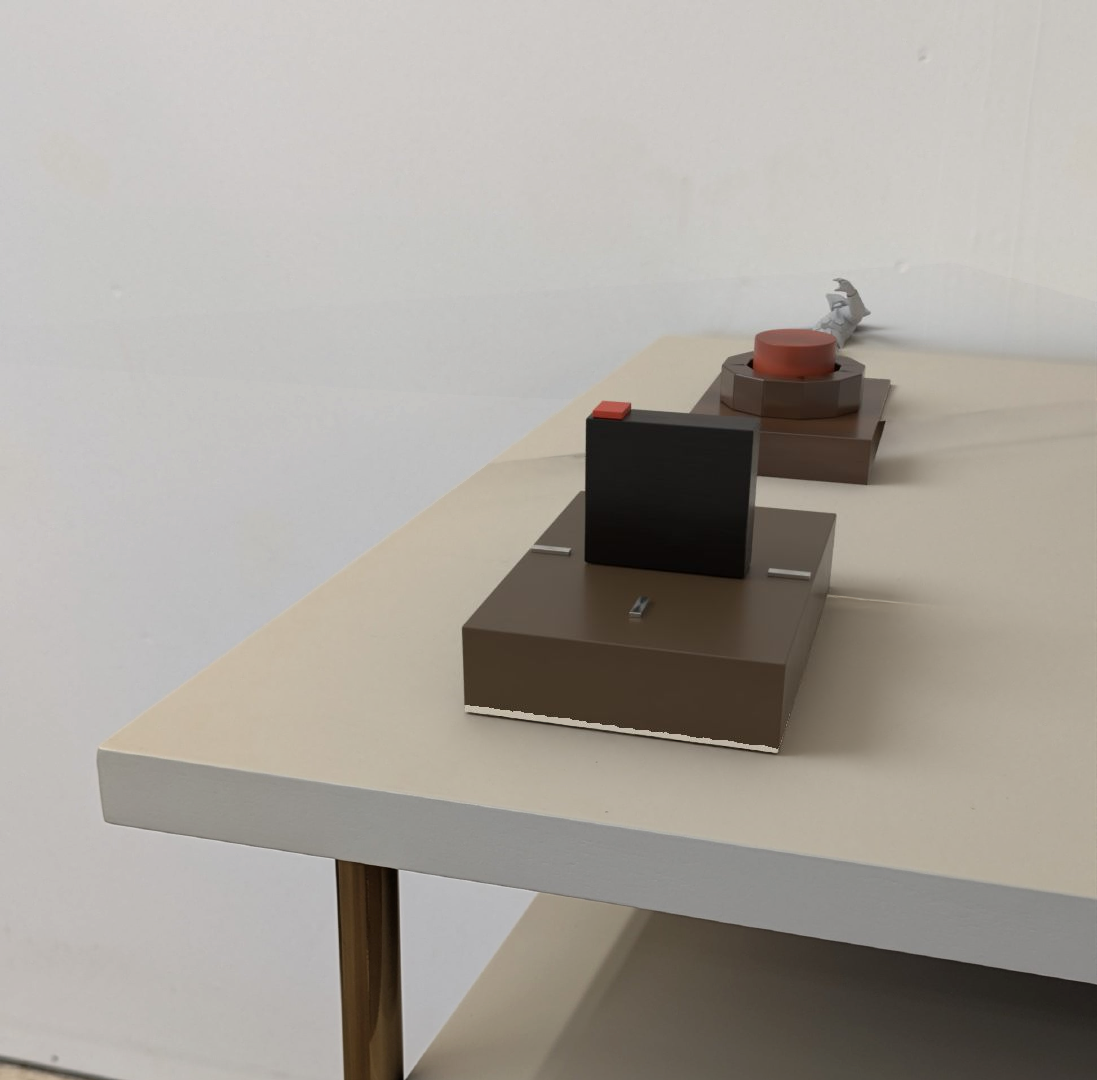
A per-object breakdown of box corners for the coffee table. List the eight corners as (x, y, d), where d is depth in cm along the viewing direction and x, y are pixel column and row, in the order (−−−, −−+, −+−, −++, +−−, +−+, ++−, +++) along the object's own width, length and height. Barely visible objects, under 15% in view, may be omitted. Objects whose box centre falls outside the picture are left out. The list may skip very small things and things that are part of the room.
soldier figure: (716, 409, 81) (760, 306, 89) (776, 463, 82) (814, 357, 90) (812, 327, 76) (850, 225, 83) (874, 387, 77) (906, 281, 85)
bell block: (720, 408, 77) (724, 334, 76) (886, 420, 75) (894, 344, 73) (676, 470, 67) (680, 387, 65) (866, 486, 65) (876, 400, 63)
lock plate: (579, 561, 56) (580, 486, 55) (829, 587, 54) (837, 508, 52) (463, 713, 45) (460, 621, 43) (778, 754, 42) (786, 659, 41)
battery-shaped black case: (751, 562, 48) (761, 410, 45) (743, 579, 46) (754, 423, 44) (595, 547, 49) (597, 398, 47) (583, 562, 48) (585, 410, 45)
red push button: (759, 361, 72) (761, 326, 71) (837, 366, 71) (841, 331, 70) (746, 379, 68) (749, 343, 68) (829, 385, 67) (832, 348, 67)
